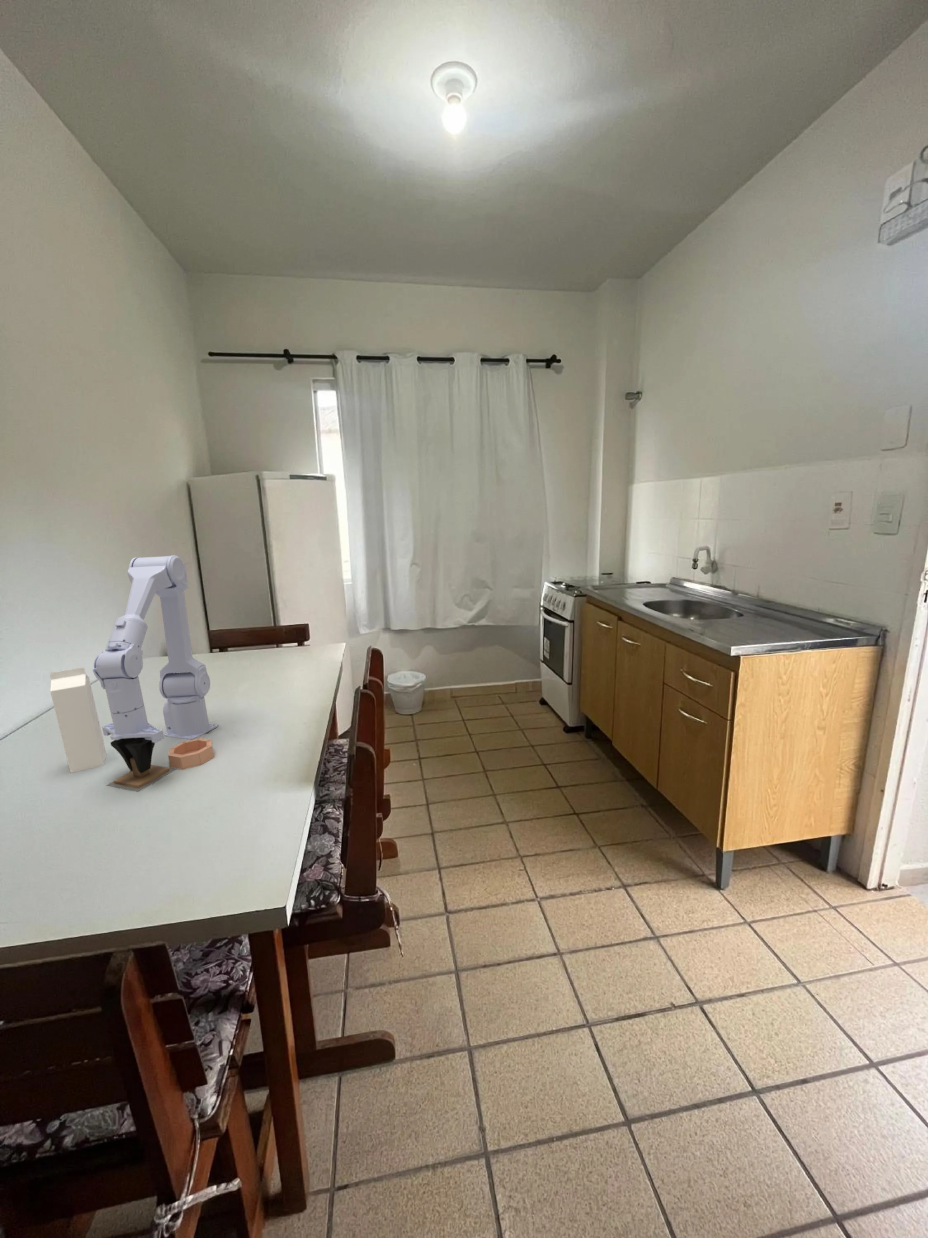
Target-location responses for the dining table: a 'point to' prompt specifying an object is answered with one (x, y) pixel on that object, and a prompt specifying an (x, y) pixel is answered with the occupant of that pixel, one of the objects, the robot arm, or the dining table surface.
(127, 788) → the mat
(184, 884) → the dining table surface
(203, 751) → the octagonal copper pot
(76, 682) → the milk
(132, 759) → the lid
